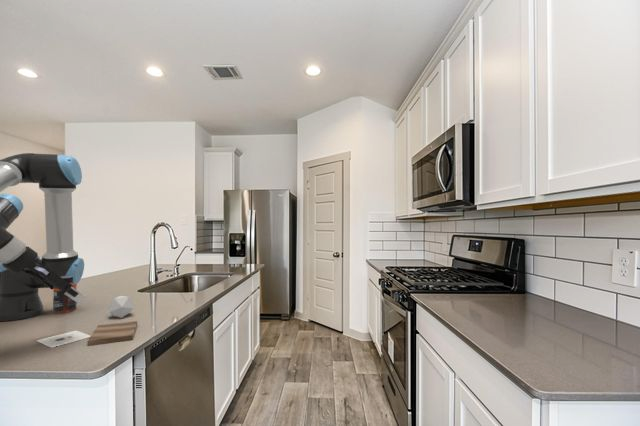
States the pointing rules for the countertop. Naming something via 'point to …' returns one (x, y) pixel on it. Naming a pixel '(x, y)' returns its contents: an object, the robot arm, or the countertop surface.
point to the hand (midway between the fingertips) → (78, 299)
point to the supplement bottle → (64, 299)
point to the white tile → (63, 339)
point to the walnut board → (113, 333)
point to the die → (120, 306)
